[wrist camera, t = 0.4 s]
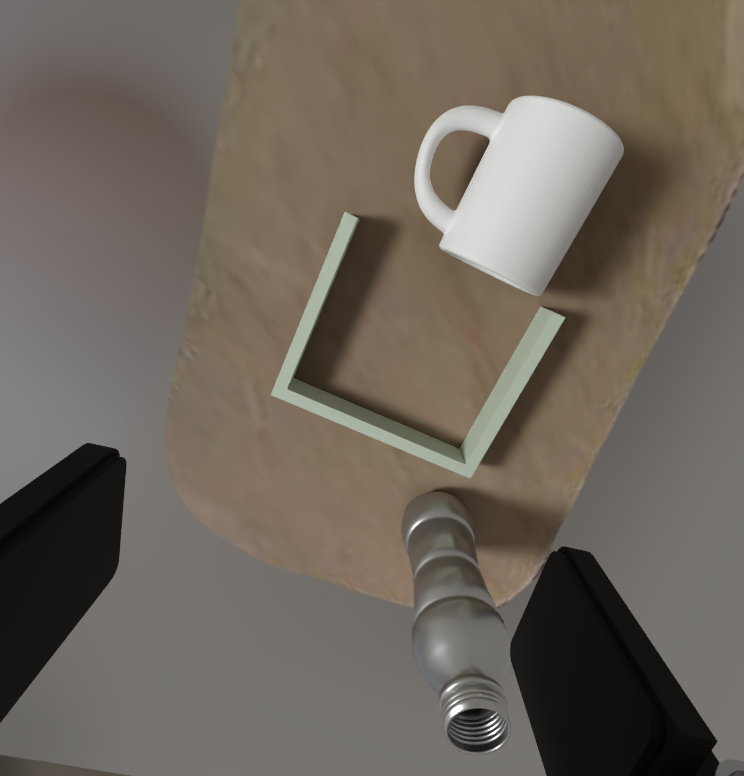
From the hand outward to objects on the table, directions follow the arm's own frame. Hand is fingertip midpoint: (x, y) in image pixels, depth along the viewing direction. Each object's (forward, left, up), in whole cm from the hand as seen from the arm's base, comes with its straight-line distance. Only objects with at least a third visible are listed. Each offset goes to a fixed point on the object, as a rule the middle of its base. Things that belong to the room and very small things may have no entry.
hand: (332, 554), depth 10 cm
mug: (-12, +4, -29) cm, 32 cm away
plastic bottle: (+14, +13, -29) cm, 35 cm away
